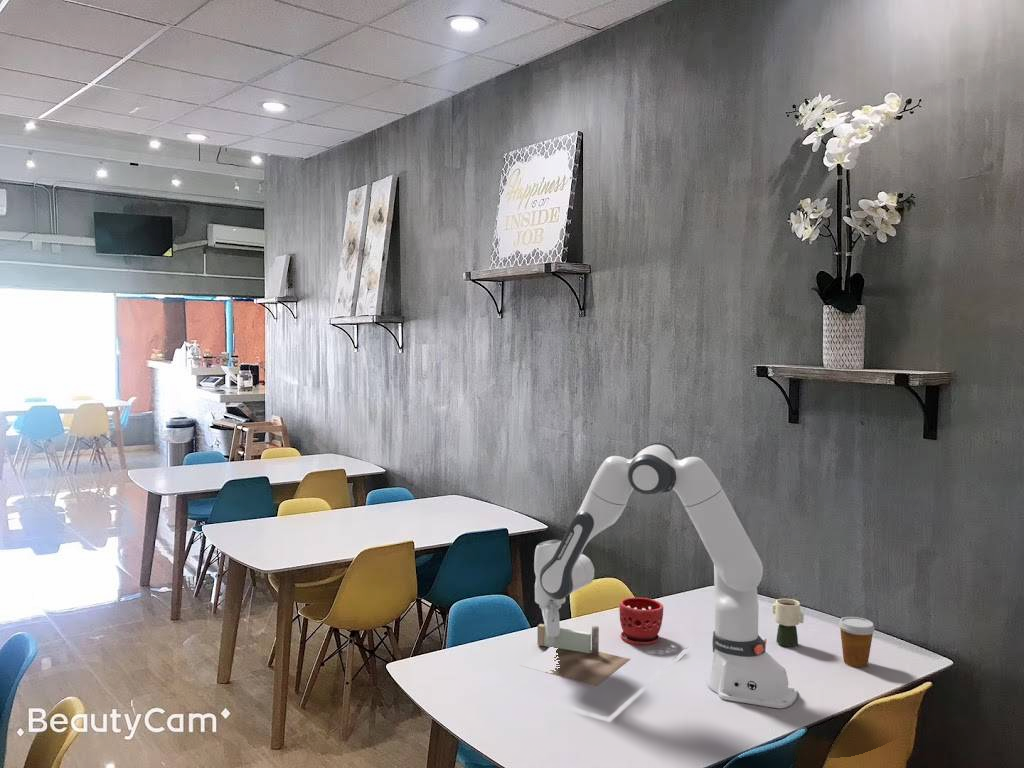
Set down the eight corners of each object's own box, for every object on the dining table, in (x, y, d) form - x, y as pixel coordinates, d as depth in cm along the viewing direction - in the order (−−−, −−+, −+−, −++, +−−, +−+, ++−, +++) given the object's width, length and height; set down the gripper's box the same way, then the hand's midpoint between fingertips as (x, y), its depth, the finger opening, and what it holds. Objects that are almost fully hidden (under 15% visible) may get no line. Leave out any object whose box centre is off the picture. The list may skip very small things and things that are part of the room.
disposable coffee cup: (835, 666, 226) (836, 624, 226) (839, 654, 235) (840, 614, 234) (872, 672, 222) (873, 630, 221) (875, 660, 230) (876, 619, 230)
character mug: (810, 647, 240) (811, 604, 239) (794, 652, 236) (795, 609, 235) (779, 636, 249) (780, 595, 248) (764, 641, 245) (765, 599, 244)
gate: (589, 653, 231) (589, 633, 231) (537, 645, 238) (537, 625, 238) (591, 651, 233) (591, 631, 233) (539, 642, 240) (540, 623, 239)
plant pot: (650, 653, 235) (650, 613, 235) (611, 643, 243) (611, 604, 243) (670, 640, 246) (670, 601, 245) (632, 630, 254) (632, 593, 253)
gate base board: (630, 662, 229) (630, 631, 228) (597, 689, 211) (597, 655, 210) (557, 645, 242) (557, 615, 241) (519, 669, 224) (520, 637, 223)
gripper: (564, 606, 223) (565, 655, 224) (557, 585, 244) (559, 630, 244) (541, 606, 223) (542, 655, 224) (537, 586, 244) (538, 631, 244)
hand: (551, 642), depth 234 cm, fingers closed
